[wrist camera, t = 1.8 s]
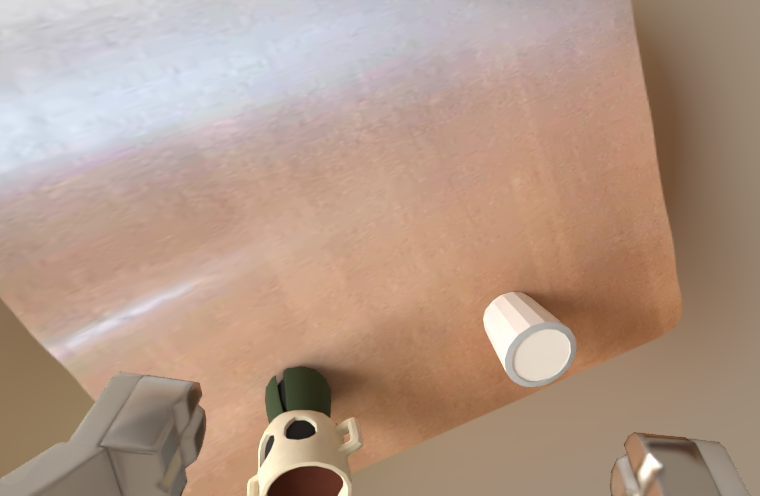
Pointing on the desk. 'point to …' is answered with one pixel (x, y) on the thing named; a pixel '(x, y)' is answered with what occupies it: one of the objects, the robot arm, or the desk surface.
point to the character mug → (303, 440)
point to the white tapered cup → (528, 339)
